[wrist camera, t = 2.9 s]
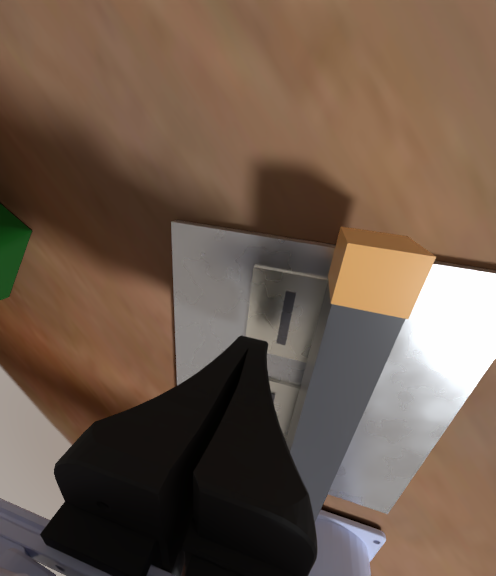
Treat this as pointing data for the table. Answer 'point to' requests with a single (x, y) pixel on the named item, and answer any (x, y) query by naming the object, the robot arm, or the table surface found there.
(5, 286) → the milk carton
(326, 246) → the tray base
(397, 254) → the swing arm
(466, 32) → the table surface
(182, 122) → the table surface
